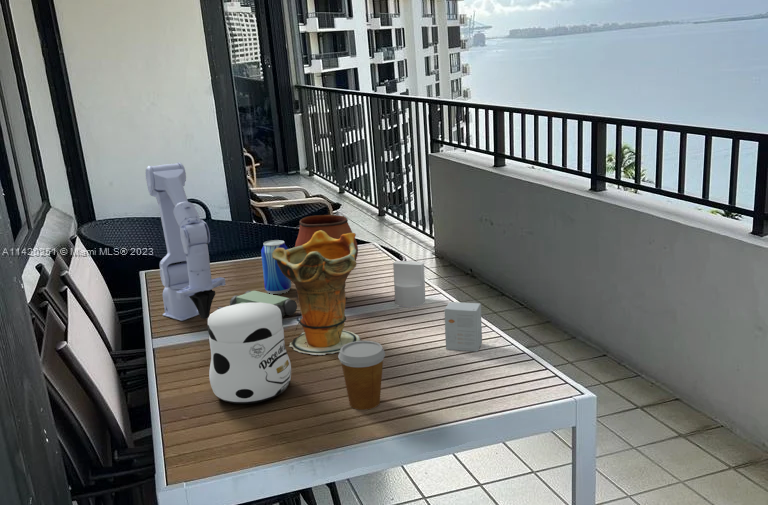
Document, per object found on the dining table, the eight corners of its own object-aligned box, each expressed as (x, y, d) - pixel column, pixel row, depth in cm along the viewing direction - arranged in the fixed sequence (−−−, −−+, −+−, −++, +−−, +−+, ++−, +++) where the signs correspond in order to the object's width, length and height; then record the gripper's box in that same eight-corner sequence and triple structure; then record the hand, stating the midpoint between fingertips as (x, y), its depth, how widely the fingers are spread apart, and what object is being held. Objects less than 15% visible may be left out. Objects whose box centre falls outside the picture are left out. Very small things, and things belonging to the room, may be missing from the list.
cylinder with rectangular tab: (390, 305, 199) (388, 266, 196) (401, 296, 207) (399, 257, 204) (419, 308, 196) (418, 267, 193) (429, 298, 204) (428, 259, 201)
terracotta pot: (338, 313, 195) (332, 227, 189) (284, 305, 205) (277, 223, 198) (372, 293, 211) (368, 214, 205) (321, 286, 221) (315, 210, 214)
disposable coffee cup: (341, 394, 145) (337, 341, 142) (385, 390, 146) (382, 338, 143) (342, 415, 136) (338, 359, 133) (389, 411, 137) (386, 356, 134)
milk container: (299, 402, 143) (291, 321, 138) (214, 417, 138) (203, 333, 134) (286, 370, 159) (279, 296, 154) (210, 382, 154) (200, 307, 150)
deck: (217, 316, 198) (215, 302, 196) (254, 302, 208) (253, 288, 207) (260, 328, 187) (259, 312, 185) (297, 312, 197) (296, 297, 196)
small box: (482, 343, 168) (481, 303, 166) (477, 352, 163) (477, 310, 161) (450, 341, 171) (449, 301, 168) (445, 349, 166) (443, 308, 163)
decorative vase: (264, 355, 167) (256, 242, 161) (306, 326, 188) (301, 226, 182) (342, 363, 160) (337, 246, 154) (377, 333, 181) (374, 229, 175)
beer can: (286, 295, 214) (282, 245, 210) (261, 295, 215) (256, 245, 211) (295, 287, 222) (291, 239, 217) (270, 287, 223) (266, 239, 219)
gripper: (185, 278, 171) (191, 329, 175) (230, 264, 182) (235, 312, 186) (168, 274, 175) (175, 323, 179) (213, 260, 186) (218, 307, 190)
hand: (204, 317), depth 183 cm, fingers closed
